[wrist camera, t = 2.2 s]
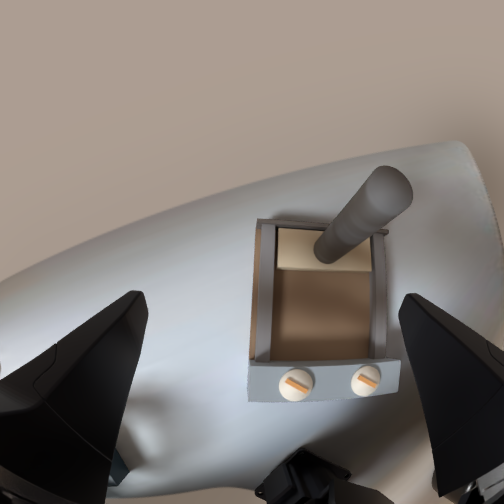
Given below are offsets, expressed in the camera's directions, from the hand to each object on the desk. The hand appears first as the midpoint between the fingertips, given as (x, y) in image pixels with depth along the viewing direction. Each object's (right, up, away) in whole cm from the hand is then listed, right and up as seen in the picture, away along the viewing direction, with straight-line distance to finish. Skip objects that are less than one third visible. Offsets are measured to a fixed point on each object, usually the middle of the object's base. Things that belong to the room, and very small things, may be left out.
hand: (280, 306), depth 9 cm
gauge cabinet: (+4, -8, +12) cm, 15 cm away
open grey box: (+5, -3, +13) cm, 14 cm away
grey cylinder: (+5, +2, +13) cm, 14 cm away
